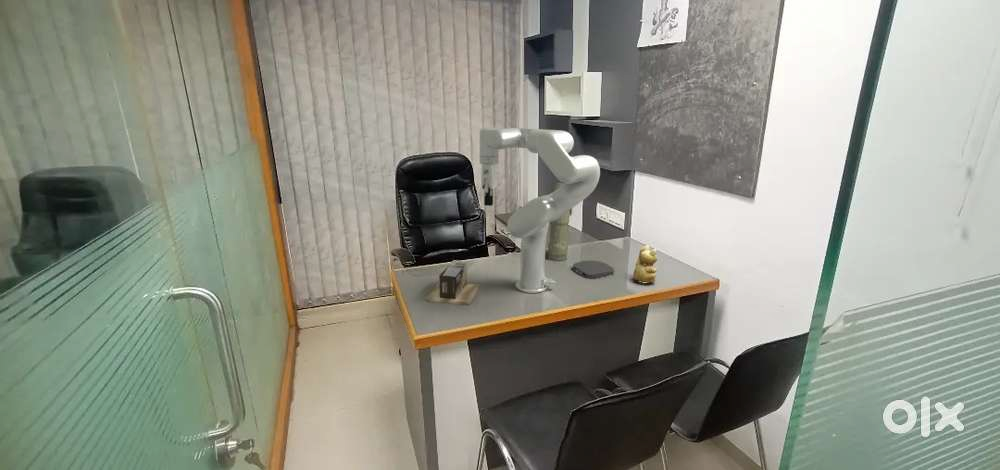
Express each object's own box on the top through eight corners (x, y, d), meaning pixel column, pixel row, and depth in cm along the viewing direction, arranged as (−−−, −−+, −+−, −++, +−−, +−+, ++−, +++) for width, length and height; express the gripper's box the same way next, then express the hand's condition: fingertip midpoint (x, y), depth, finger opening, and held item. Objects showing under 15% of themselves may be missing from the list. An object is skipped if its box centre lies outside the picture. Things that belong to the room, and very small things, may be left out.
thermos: (573, 259, 212) (578, 184, 201) (552, 263, 206) (556, 186, 196) (562, 253, 219) (566, 180, 209) (541, 256, 214) (544, 182, 203)
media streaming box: (617, 275, 194) (618, 269, 193) (589, 281, 188) (589, 274, 187) (596, 264, 207) (596, 258, 206) (569, 269, 201) (569, 262, 200)
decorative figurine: (659, 284, 185) (663, 248, 181) (644, 288, 181) (649, 252, 177) (640, 276, 193) (644, 242, 189) (626, 279, 189) (630, 245, 185)
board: (479, 287, 179) (479, 285, 179) (469, 305, 164) (469, 302, 164) (439, 283, 182) (439, 281, 182) (426, 300, 167) (426, 298, 167)
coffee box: (452, 259, 180) (438, 274, 165) (468, 261, 178) (455, 276, 163) (452, 281, 182) (439, 297, 167) (468, 283, 181) (456, 299, 166)
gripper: (494, 163, 174) (494, 210, 179) (501, 157, 188) (501, 201, 193) (475, 162, 175) (475, 208, 180) (483, 157, 189) (483, 200, 194)
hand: (488, 205), depth 187 cm, fingers closed
